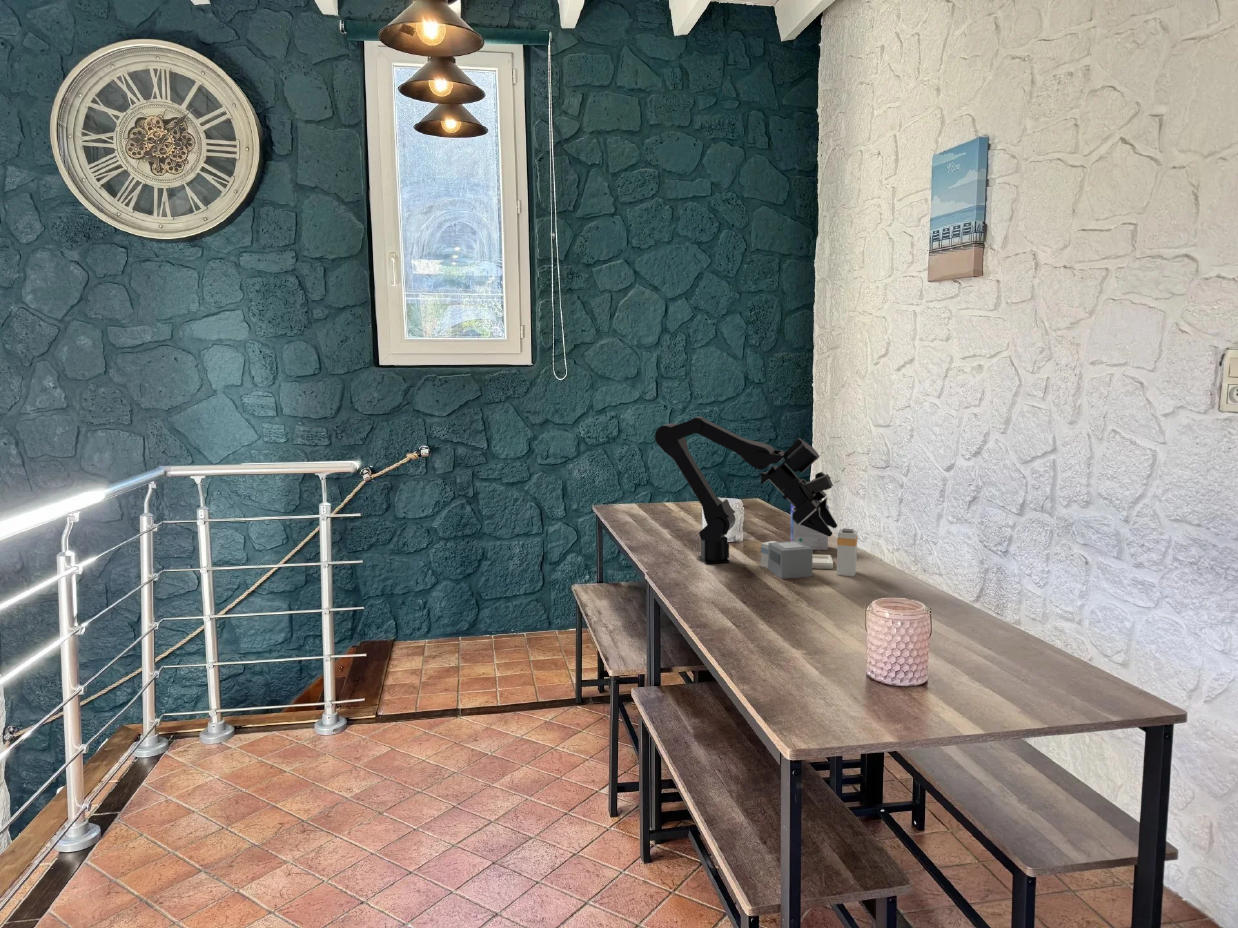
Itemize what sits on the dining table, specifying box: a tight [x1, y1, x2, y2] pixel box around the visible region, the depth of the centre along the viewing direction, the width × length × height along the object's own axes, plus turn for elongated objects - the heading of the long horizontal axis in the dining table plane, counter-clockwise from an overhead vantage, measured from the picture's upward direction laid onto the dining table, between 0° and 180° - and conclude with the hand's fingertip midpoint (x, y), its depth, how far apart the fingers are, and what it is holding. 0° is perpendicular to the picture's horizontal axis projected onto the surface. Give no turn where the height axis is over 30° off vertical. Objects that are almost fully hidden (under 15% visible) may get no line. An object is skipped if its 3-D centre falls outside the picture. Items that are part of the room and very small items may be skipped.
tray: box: [812, 554, 834, 570], centre depth 210 cm, size 8×8×2 cm
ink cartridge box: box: [790, 503, 830, 550], centre depth 226 cm, size 10×6×14 cm, turn 89°
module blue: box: [760, 540, 777, 569], centre depth 208 cm, size 4×4×6 cm
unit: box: [767, 540, 813, 580], centre depth 201 cm, size 8×8×7 cm
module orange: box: [836, 528, 859, 577], centre depth 201 cm, size 4×4×11 cm
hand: (833, 531), depth 201 cm, fingers open, 9 cm apart
